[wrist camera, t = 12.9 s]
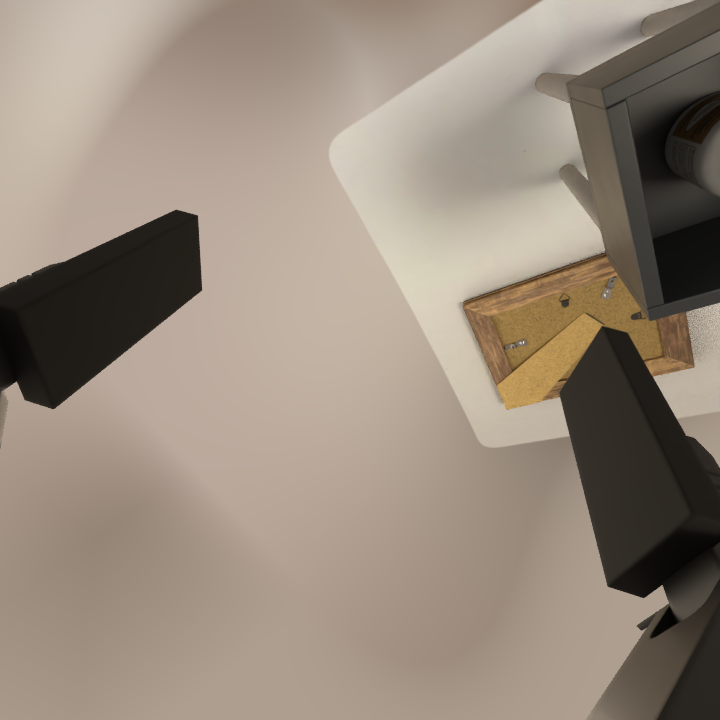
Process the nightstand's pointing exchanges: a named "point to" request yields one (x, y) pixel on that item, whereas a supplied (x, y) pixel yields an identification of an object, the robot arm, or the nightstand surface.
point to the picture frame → (566, 329)
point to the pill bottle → (697, 144)
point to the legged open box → (649, 159)
